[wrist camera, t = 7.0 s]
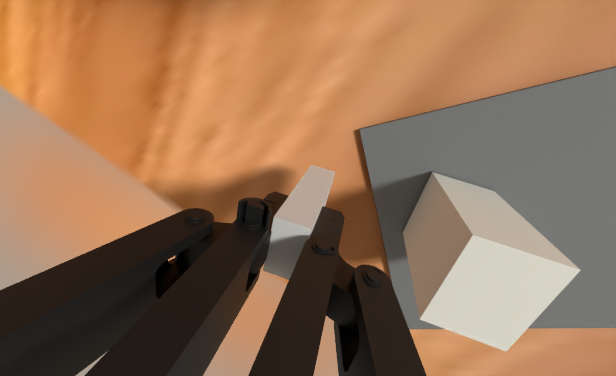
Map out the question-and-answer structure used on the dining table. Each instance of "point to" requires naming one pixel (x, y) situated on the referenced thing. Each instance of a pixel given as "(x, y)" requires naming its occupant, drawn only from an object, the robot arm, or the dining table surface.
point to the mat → (515, 181)
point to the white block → (479, 263)
